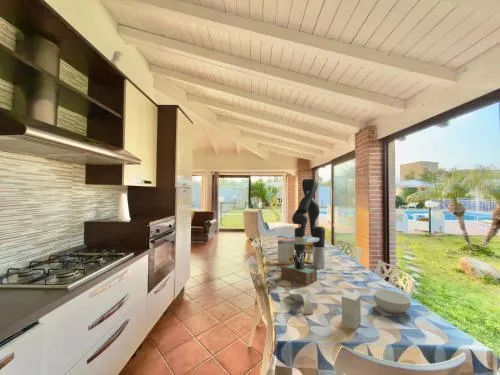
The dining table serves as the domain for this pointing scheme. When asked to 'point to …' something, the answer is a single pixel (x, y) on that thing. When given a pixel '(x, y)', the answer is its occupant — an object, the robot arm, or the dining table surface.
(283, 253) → the cracker box
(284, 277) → the lid box
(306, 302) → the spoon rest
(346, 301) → the small box
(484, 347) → the dining table surface
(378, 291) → the cereal bowl
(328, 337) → the dining table surface
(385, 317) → the dining table surface
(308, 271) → the cover plate
